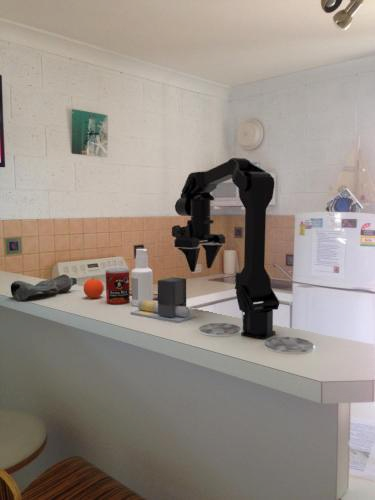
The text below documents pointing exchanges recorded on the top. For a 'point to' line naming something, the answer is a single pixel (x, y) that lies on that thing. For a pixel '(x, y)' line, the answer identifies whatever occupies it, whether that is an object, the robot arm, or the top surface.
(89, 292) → the clementine
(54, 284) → the crushed bottle
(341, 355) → the top surface
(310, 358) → the top surface
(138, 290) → the spray bottle
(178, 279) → the sleeve
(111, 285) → the canned food
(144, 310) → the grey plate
